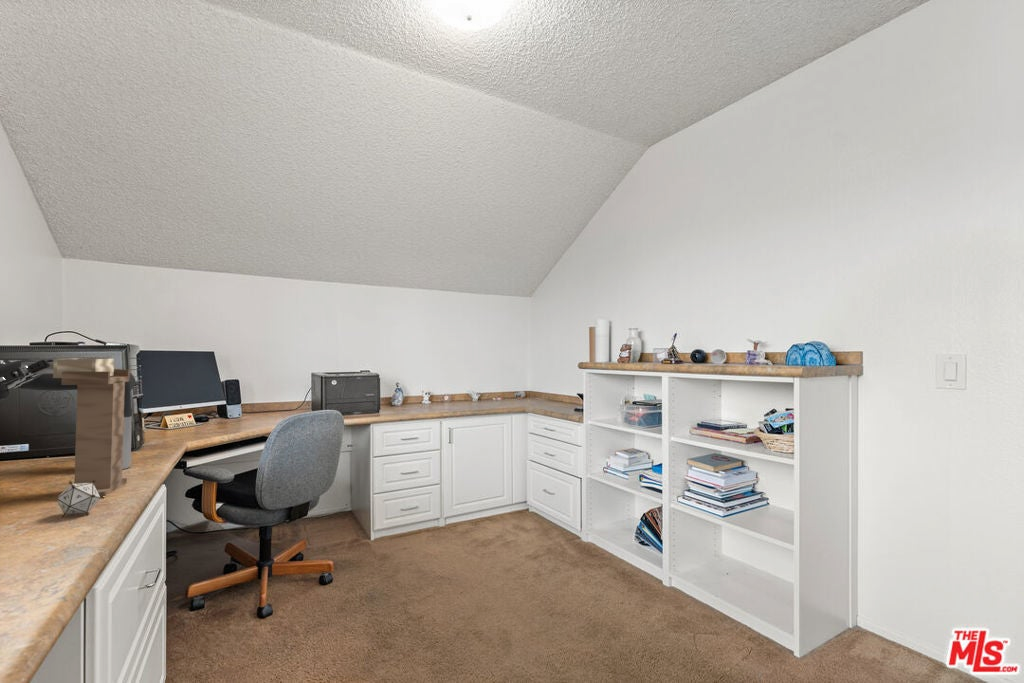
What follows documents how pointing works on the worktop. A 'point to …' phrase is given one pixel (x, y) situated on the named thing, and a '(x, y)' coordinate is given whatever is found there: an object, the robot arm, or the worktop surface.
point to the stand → (99, 427)
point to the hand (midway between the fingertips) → (50, 362)
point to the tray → (75, 366)
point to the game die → (78, 498)
